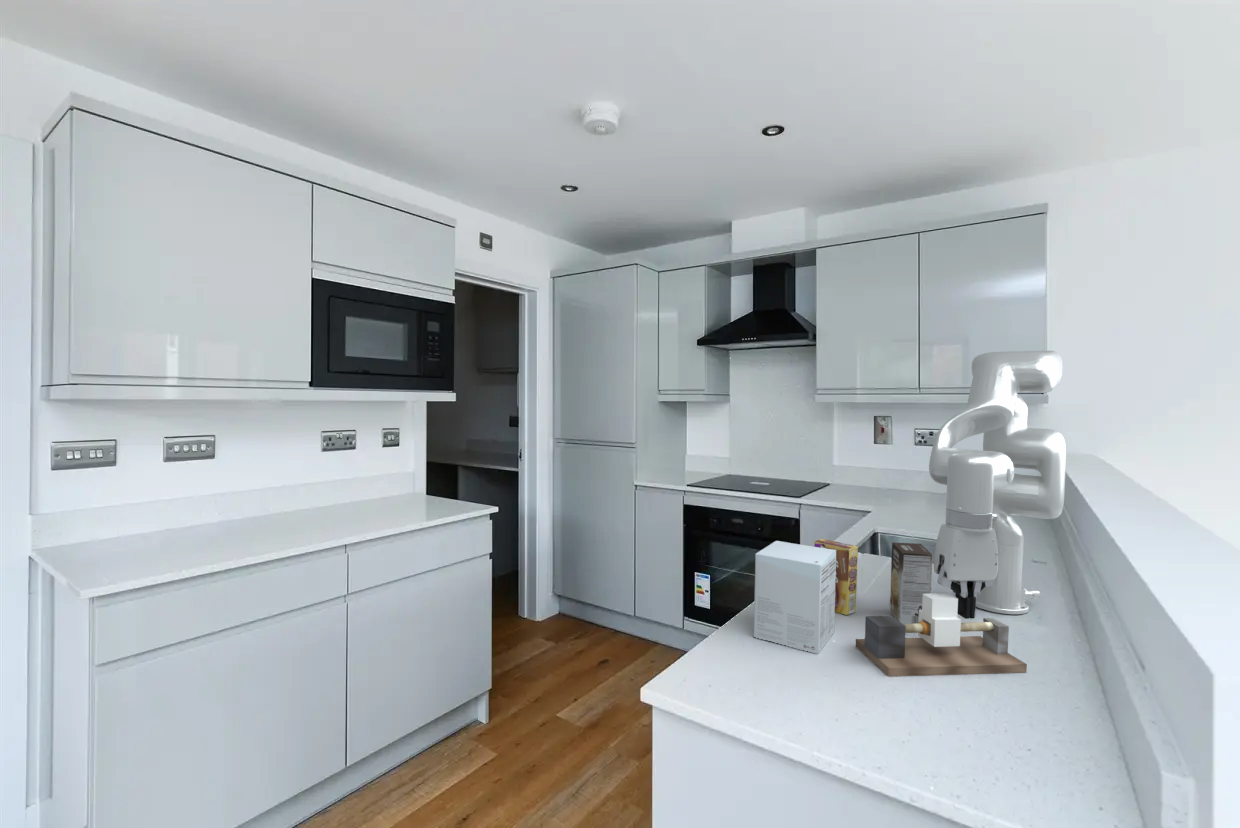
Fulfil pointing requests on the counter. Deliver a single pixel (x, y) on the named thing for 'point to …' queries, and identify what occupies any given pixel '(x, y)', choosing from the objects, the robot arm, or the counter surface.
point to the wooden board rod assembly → (937, 649)
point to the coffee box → (909, 580)
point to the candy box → (843, 574)
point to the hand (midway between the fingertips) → (964, 615)
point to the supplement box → (795, 595)
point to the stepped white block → (941, 619)
